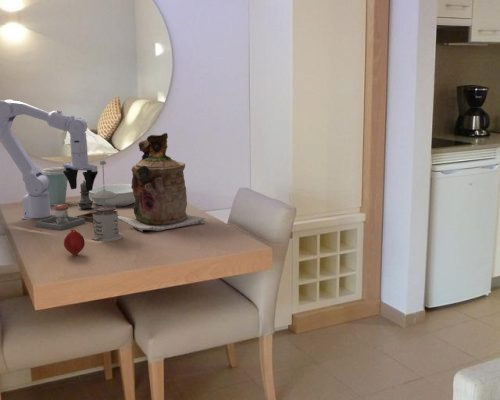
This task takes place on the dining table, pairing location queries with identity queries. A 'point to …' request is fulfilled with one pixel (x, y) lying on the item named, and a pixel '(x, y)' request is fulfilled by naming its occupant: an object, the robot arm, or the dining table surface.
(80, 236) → the onion
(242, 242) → the dining table surface
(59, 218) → the pin
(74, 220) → the tray
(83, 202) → the grey tiered figure
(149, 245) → the dining table surface
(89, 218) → the board
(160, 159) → the cookie jar
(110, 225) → the french press
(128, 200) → the serving bowl
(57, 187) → the disposable coffee cup
